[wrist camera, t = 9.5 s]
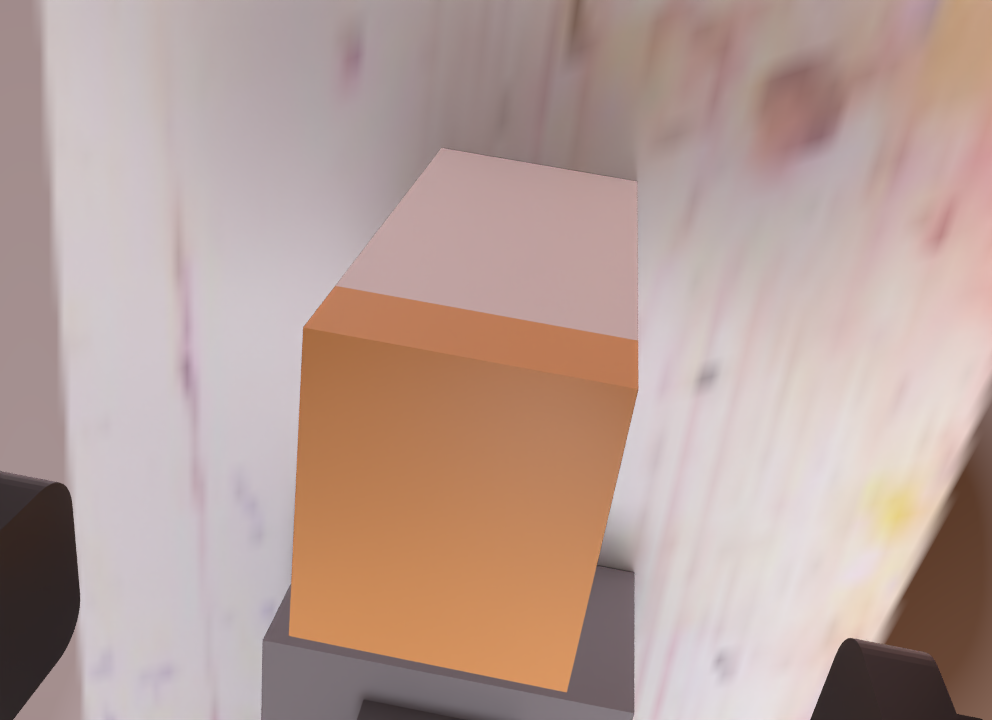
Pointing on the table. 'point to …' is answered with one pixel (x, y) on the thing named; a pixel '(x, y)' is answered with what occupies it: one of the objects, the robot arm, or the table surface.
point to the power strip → (453, 675)
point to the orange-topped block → (469, 420)
